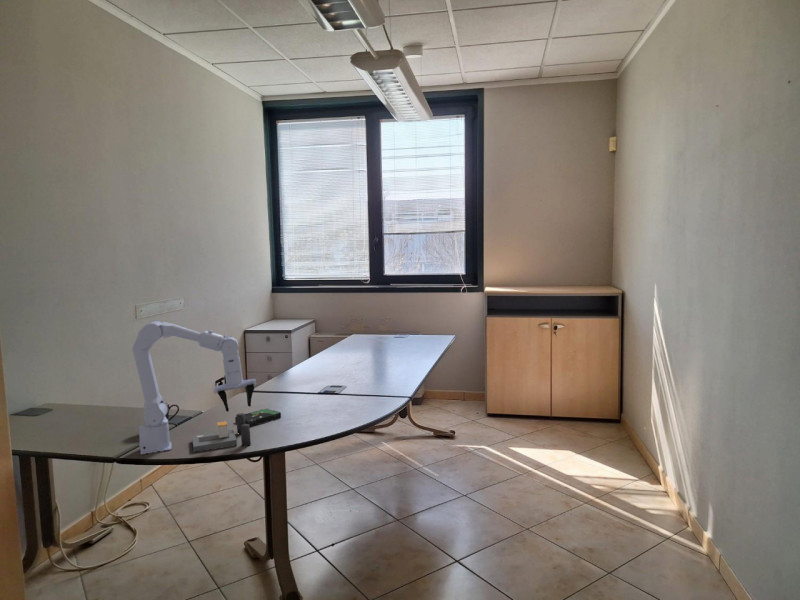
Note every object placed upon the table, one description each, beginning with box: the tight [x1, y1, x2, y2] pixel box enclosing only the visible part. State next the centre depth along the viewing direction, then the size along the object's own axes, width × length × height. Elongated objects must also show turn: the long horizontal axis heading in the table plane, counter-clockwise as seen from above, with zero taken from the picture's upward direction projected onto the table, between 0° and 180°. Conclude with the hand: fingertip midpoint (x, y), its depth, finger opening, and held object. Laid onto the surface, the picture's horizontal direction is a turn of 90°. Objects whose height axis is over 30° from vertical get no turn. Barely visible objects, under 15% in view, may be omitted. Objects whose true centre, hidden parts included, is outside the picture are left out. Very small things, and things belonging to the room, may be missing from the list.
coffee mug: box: [164, 401, 180, 423], centre depth 205 cm, size 12×9×10 cm
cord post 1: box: [235, 412, 246, 435], centre depth 199 cm, size 3×3×7 cm
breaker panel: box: [191, 429, 238, 452], centre depth 189 cm, size 14×12×2 cm
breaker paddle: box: [216, 421, 228, 438], centre depth 190 cm, size 3×4×4 cm
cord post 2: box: [240, 424, 252, 447], centre depth 186 cm, size 3×3×7 cm
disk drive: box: [234, 408, 282, 427], centre depth 214 cm, size 10×3×15 cm
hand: (238, 408), depth 191 cm, fingers open, 7 cm apart
